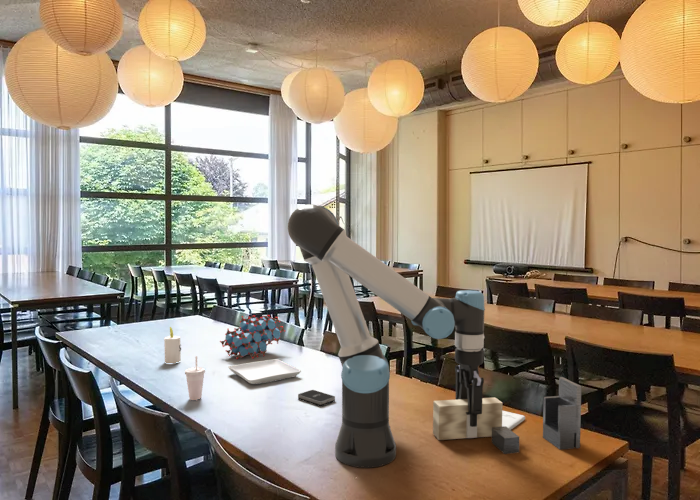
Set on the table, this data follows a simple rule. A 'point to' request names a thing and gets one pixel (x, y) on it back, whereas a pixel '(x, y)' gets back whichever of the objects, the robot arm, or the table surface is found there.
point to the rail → (464, 418)
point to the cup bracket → (563, 416)
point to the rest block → (505, 440)
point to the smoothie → (195, 381)
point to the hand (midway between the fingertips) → (467, 433)
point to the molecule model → (252, 336)
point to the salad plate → (264, 371)
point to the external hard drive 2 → (511, 419)
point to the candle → (172, 348)
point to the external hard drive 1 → (316, 397)
